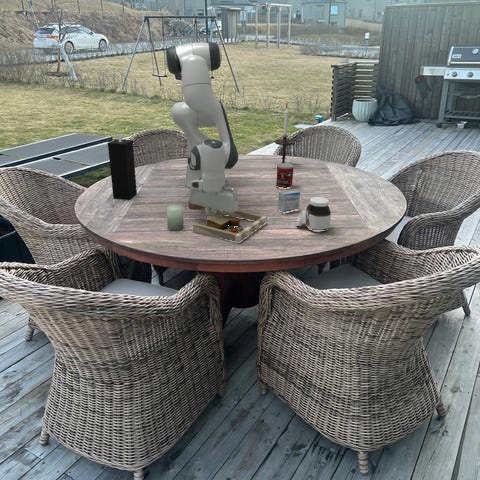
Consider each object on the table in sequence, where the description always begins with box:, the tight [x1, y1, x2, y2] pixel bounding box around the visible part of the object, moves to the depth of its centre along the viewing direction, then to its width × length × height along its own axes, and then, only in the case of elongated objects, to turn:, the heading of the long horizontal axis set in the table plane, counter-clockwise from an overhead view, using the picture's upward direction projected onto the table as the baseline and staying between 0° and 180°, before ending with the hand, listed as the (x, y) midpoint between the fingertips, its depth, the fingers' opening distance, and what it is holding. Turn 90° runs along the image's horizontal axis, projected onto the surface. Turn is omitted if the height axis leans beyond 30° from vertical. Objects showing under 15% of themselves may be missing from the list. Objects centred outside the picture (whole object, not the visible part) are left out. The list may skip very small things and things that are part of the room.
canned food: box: [275, 162, 294, 188], centre depth 214 cm, size 8×8×11 cm
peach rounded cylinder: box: [188, 190, 204, 211], centre depth 187 cm, size 6×6×7 cm
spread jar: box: [296, 196, 332, 231], centre depth 168 cm, size 12×11×12 cm
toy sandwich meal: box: [204, 213, 243, 234], centre depth 166 cm, size 12×14×5 cm
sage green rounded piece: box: [166, 204, 185, 232], centre depth 167 cm, size 6×6×8 cm
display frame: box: [192, 209, 268, 242], centre depth 169 cm, size 22×20×3 cm
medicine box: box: [277, 189, 301, 212], centre depth 185 cm, size 8×4×9 cm, turn 117°
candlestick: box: [274, 103, 296, 163], centre depth 243 cm, size 11×11×35 cm
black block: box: [107, 133, 138, 201], centre depth 193 cm, size 8×8×28 cm
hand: (213, 218), depth 172 cm, fingers closed
